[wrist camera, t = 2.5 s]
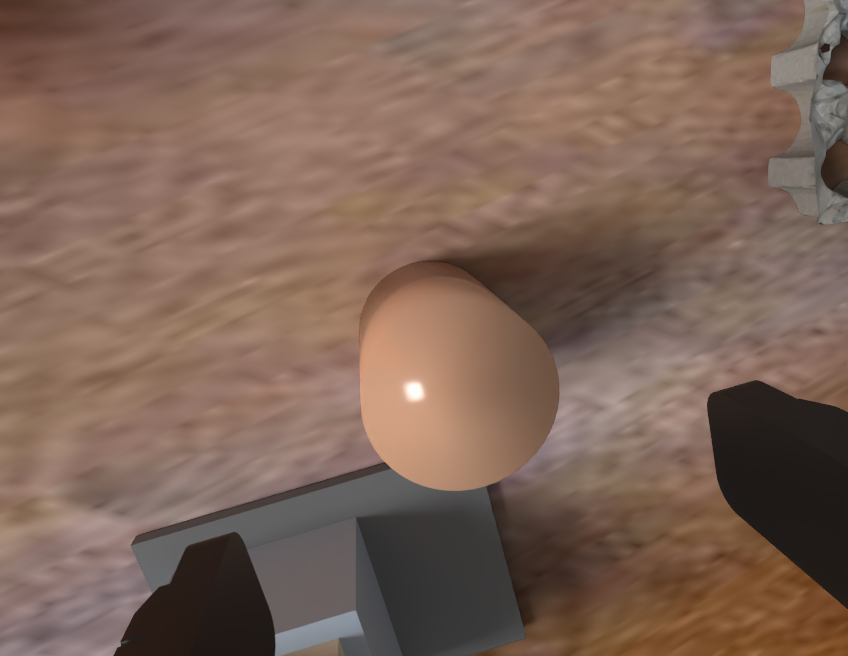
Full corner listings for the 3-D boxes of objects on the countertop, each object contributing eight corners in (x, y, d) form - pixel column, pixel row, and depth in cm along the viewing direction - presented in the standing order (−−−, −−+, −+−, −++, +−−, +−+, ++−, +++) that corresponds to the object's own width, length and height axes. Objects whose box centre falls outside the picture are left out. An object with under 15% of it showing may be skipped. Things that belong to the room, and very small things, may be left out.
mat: (471, 437, 23) (474, 444, 22) (522, 627, 25) (526, 637, 25) (136, 536, 22) (130, 545, 22) (219, 720, 25) (216, 733, 24)
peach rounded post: (479, 244, 21) (536, 276, 14) (510, 374, 23) (576, 459, 16) (341, 283, 21) (334, 334, 14) (381, 411, 22) (391, 514, 16)
